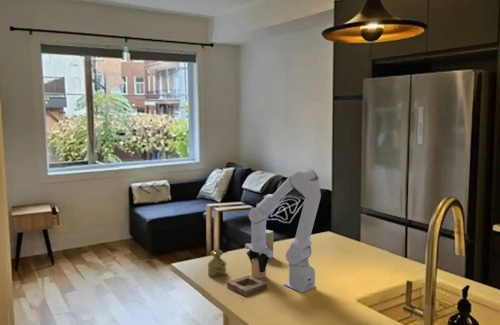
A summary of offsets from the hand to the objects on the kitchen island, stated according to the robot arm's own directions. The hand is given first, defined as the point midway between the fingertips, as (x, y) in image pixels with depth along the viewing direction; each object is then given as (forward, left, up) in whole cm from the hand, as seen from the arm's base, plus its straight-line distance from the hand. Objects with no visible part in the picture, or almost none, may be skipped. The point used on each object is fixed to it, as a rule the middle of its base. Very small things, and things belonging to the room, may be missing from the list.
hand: (258, 270), depth 175 cm
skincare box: (+15, -17, -3) cm, 23 cm away
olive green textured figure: (+13, +11, -3) cm, 17 cm away
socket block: (-6, +11, -2) cm, 13 cm away
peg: (0, 0, -2) cm, 2 cm away
